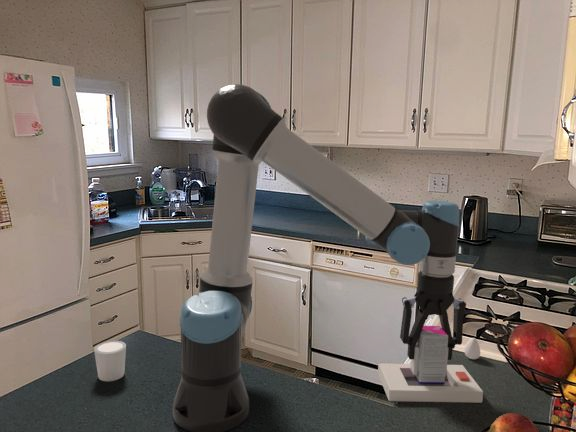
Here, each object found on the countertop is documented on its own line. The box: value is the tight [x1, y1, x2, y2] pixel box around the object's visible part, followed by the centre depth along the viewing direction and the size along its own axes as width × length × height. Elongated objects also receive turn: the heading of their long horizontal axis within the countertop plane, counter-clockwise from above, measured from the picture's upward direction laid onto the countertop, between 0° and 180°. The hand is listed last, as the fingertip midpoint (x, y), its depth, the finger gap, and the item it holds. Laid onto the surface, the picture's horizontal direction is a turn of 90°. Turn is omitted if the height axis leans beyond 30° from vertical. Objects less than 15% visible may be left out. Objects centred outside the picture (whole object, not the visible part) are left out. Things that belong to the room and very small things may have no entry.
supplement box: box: [414, 325, 448, 385], centre depth 106 cm, size 6×6×12 cm
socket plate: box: [377, 363, 484, 404], centre depth 107 cm, size 20×12×3 cm, turn 91°
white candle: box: [93, 340, 127, 382], centre depth 109 cm, size 7×7×7 cm
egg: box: [463, 337, 481, 360], centre depth 122 cm, size 4×4×6 cm
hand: (428, 372), depth 107 cm, fingers closed on supplement box, 6 cm apart
